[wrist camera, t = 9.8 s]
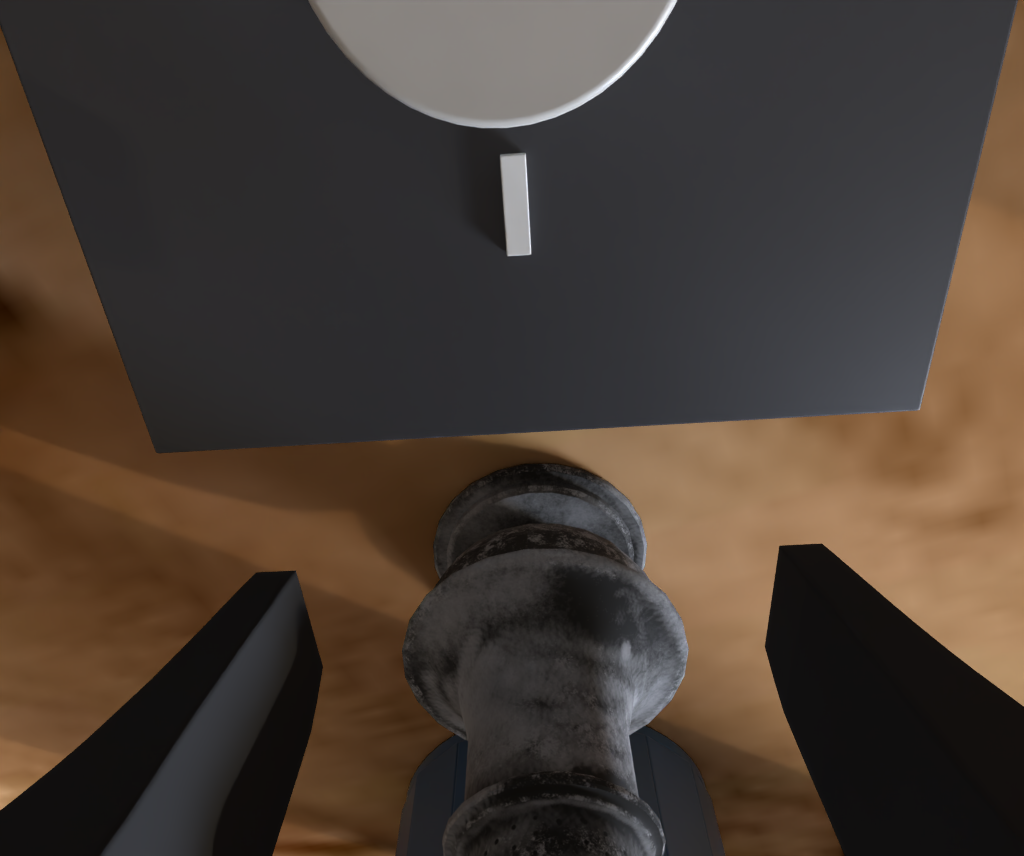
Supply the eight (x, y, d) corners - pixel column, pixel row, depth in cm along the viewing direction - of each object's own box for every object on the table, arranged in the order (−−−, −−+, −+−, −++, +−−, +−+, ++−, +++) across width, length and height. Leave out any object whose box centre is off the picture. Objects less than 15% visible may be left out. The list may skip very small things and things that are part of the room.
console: (838, 332, 15) (925, 415, 12) (226, 369, 15) (151, 459, 12) (964, -426, 10) (1186, -648, 6) (23, -333, 10) (-204, -497, 7)
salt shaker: (445, 648, 20) (365, 1368, 9) (398, 468, 17) (202, 1214, 6) (662, 627, 19) (841, 1356, 9) (652, 438, 16) (901, 1186, 6)
